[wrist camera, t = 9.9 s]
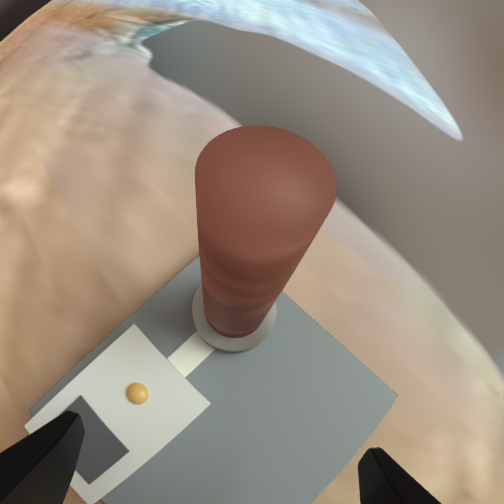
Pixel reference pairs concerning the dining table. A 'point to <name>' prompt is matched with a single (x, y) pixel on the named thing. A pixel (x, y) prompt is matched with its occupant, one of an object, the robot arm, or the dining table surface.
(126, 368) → the block
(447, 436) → the dining table surface
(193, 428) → the subfloor panel
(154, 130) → the dining table surface
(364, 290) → the dining table surface
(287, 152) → the joystick
